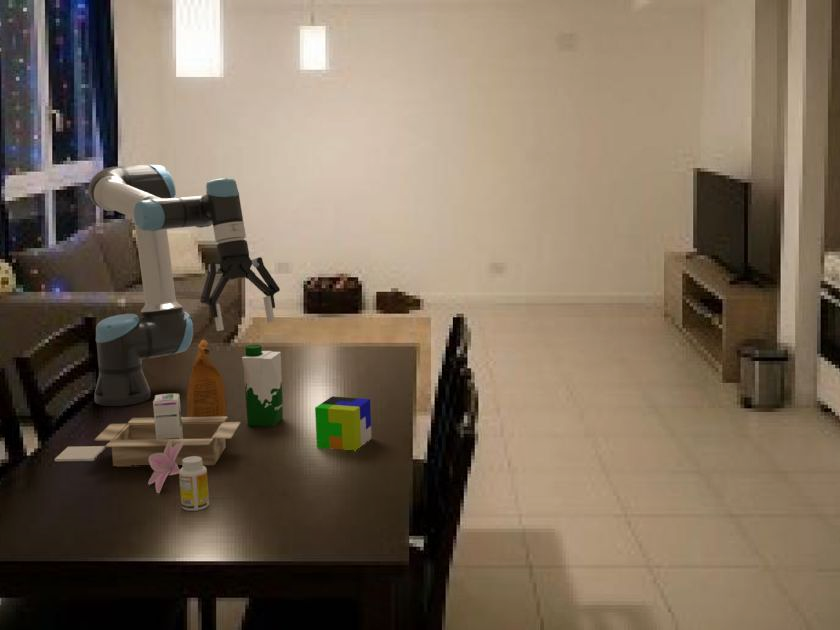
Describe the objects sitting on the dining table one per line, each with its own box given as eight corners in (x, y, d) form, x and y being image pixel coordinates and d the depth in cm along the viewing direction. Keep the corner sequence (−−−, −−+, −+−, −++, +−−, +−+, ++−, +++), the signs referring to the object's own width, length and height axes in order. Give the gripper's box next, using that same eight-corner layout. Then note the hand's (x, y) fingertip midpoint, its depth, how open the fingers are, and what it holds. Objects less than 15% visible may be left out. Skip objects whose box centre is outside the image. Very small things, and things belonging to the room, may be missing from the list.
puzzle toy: (371, 438, 258) (370, 399, 256) (355, 451, 249) (354, 410, 247) (333, 435, 262) (332, 396, 260) (316, 448, 252) (315, 407, 250)
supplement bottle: (209, 500, 220) (206, 453, 218) (209, 510, 215) (206, 462, 213) (181, 503, 219) (178, 455, 217) (180, 513, 214) (177, 464, 212)
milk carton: (254, 416, 279) (250, 342, 275) (287, 417, 277) (284, 343, 273) (242, 426, 270) (238, 350, 266) (276, 428, 268) (272, 351, 264)
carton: (118, 442, 259) (116, 418, 258) (245, 441, 259) (244, 416, 257) (90, 472, 238) (87, 446, 237) (228, 470, 238) (226, 443, 236)
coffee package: (228, 419, 277) (223, 337, 272) (227, 433, 265) (222, 347, 260) (189, 422, 275) (183, 339, 271) (187, 436, 263) (181, 350, 259)
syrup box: (183, 459, 246) (179, 399, 243) (157, 461, 245) (152, 400, 242) (184, 451, 252) (180, 392, 249) (158, 453, 251) (154, 394, 248)
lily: (153, 479, 237) (132, 449, 231) (201, 456, 237) (181, 425, 232) (156, 513, 227) (134, 482, 221) (206, 489, 227) (186, 458, 222)
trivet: (68, 449, 255) (67, 446, 255) (105, 448, 255) (105, 446, 255) (54, 461, 247) (54, 459, 246) (93, 460, 246) (93, 458, 246)
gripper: (188, 244, 252) (204, 332, 252) (283, 233, 265) (297, 317, 265) (177, 249, 258) (192, 335, 258) (270, 238, 271) (285, 320, 271)
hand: (246, 326), depth 261 cm, fingers open, 13 cm apart
